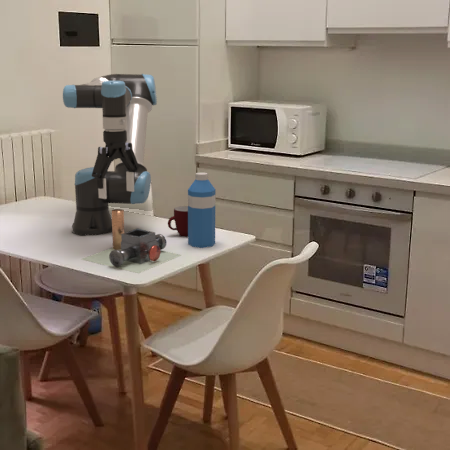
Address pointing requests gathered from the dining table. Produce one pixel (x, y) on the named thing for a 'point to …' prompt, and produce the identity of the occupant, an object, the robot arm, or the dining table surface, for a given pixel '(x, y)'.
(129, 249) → the metal mallet head
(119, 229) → the brown mallet handle
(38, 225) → the dining table surface
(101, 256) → the mat
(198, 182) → the water bottle
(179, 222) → the mug
